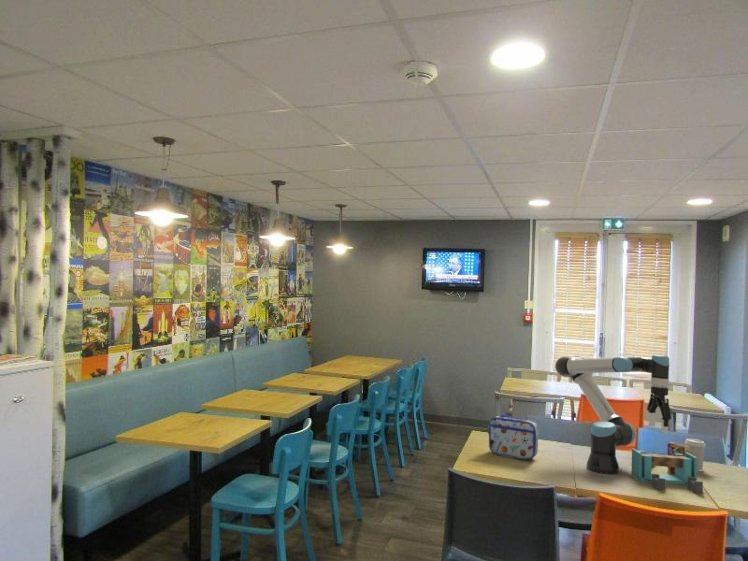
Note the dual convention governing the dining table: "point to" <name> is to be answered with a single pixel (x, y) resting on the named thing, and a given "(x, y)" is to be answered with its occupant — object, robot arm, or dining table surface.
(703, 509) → the dining table surface
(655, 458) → the rail
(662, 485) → the rests
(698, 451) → the coffee cup
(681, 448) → the candy box
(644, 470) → the bracket
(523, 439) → the lunch box
